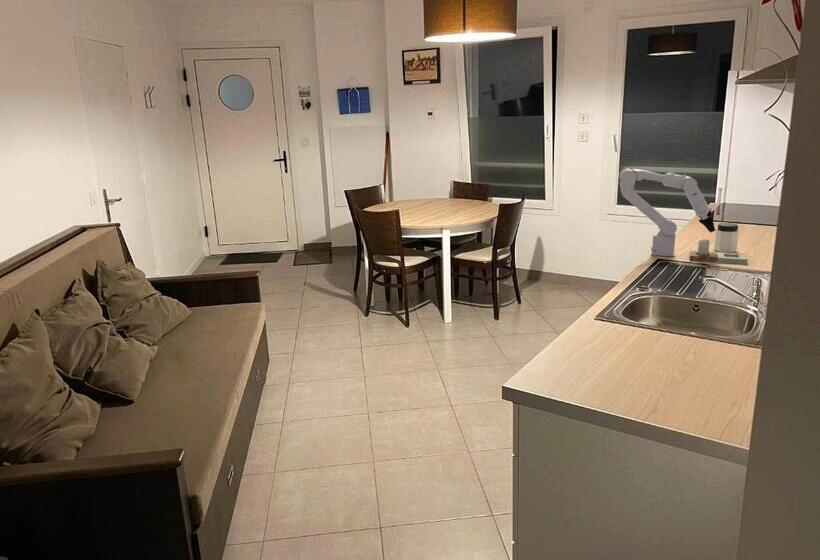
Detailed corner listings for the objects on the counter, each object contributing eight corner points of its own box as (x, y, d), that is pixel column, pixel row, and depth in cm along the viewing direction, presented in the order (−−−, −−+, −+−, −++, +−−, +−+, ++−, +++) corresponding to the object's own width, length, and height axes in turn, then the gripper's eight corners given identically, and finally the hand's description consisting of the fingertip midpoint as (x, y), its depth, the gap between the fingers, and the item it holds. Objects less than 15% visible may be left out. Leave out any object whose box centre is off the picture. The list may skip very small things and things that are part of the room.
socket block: (689, 260, 261) (690, 255, 260) (689, 255, 270) (689, 250, 269) (715, 262, 257) (716, 257, 257) (714, 256, 266) (715, 252, 265)
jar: (739, 252, 272) (742, 226, 269) (721, 253, 272) (724, 226, 269) (728, 248, 281) (731, 222, 278) (711, 248, 281) (714, 223, 278)
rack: (717, 262, 256) (717, 257, 256) (715, 256, 266) (716, 252, 266) (746, 264, 252) (747, 259, 252) (744, 258, 262) (744, 253, 262)
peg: (697, 259, 262) (699, 241, 260) (697, 257, 266) (698, 239, 264) (707, 260, 261) (709, 241, 259) (707, 257, 264) (709, 239, 262)
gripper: (708, 201, 256) (723, 229, 257) (706, 194, 268) (720, 220, 270) (691, 209, 259) (706, 236, 261) (690, 201, 272) (704, 227, 273)
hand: (712, 229), depth 266 cm, fingers open, 7 cm apart
